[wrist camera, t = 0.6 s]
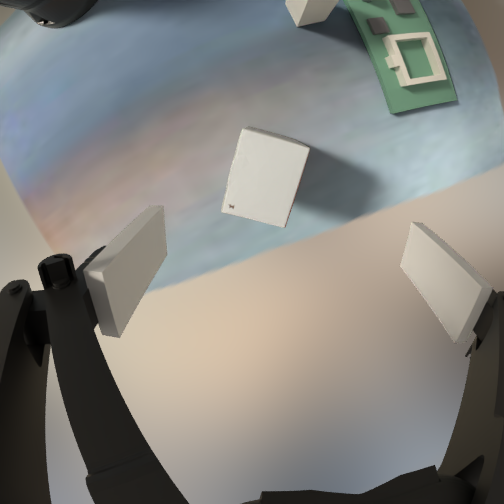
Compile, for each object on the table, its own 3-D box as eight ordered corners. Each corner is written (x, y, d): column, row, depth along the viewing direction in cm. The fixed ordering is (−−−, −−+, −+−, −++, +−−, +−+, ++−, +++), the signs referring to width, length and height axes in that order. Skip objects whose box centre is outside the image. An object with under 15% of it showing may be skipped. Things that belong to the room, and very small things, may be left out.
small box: (278, 195, 39) (285, 230, 27) (232, 182, 38) (218, 213, 27) (295, 138, 35) (312, 147, 24) (247, 125, 35) (240, 127, 23)
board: (330, -23, 24) (335, -33, 21) (399, -26, 22) (408, -35, 19) (390, 113, 33) (401, 113, 29) (452, 100, 30) (466, 100, 27)
